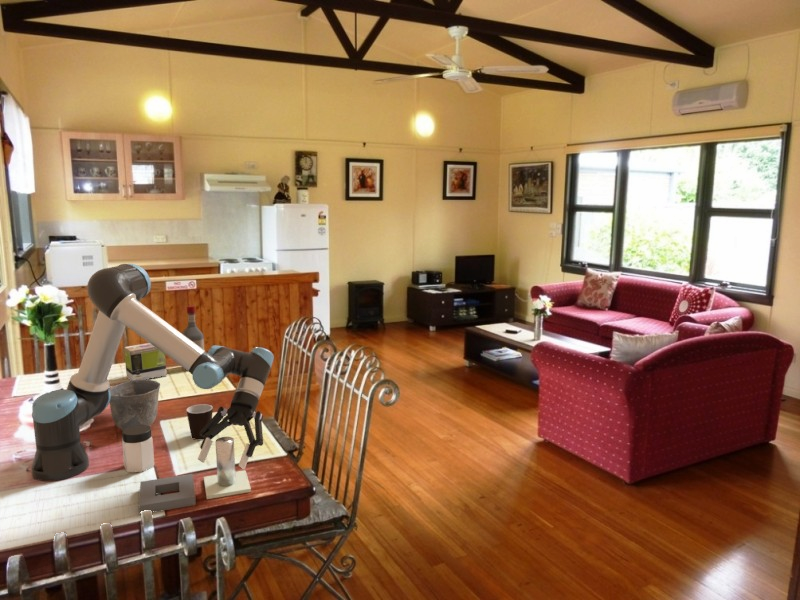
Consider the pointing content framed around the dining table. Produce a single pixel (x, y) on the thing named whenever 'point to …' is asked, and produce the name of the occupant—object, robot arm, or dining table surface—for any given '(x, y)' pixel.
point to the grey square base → (167, 501)
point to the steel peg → (225, 461)
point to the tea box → (144, 362)
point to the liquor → (193, 329)
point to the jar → (137, 448)
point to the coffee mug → (198, 418)
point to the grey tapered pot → (134, 403)
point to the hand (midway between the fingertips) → (221, 464)
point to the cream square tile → (218, 491)
